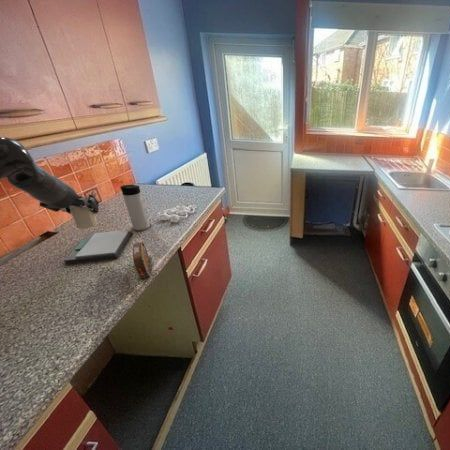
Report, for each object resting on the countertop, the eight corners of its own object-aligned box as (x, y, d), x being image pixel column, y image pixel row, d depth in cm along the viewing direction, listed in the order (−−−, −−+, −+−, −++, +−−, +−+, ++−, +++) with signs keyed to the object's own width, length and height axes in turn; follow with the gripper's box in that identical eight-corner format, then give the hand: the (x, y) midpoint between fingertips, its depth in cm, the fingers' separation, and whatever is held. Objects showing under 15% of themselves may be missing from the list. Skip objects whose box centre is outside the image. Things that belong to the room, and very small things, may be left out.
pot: (73, 229, 83) (64, 207, 79) (81, 221, 88) (73, 200, 84) (93, 227, 84) (85, 206, 81) (100, 220, 89) (92, 199, 86)
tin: (150, 281, 80) (144, 259, 76) (139, 284, 78) (132, 262, 74) (149, 256, 91) (143, 237, 87) (139, 259, 90) (132, 239, 86)
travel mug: (129, 230, 107) (115, 186, 97) (142, 224, 112) (130, 181, 103) (141, 233, 105) (127, 188, 96) (153, 226, 111) (142, 183, 101)
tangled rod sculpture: (181, 207, 132) (179, 199, 131) (204, 209, 129) (203, 201, 127) (152, 221, 116) (150, 213, 114) (177, 224, 112) (175, 216, 110)
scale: (66, 265, 85) (63, 259, 83) (89, 238, 100) (87, 232, 98) (117, 259, 89) (114, 253, 87) (132, 235, 104) (130, 229, 102)
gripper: (82, 177, 73) (110, 200, 89) (21, 180, 69) (61, 203, 85) (80, 201, 71) (109, 220, 87) (17, 204, 67) (59, 223, 83)
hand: (85, 211), depth 86 cm, fingers closed on pot, 5 cm apart
